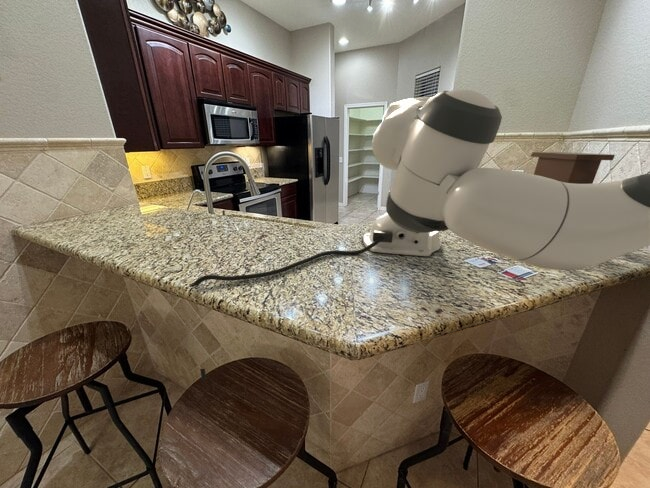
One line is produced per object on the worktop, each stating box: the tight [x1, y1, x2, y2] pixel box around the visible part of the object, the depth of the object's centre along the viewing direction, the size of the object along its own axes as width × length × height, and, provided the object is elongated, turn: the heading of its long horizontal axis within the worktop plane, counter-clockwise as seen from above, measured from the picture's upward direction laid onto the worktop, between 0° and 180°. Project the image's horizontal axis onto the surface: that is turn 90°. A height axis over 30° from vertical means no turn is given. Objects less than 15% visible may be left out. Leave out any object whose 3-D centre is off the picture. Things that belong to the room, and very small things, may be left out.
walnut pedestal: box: [530, 151, 616, 184], centre depth 80 cm, size 10×16×26 cm, turn 0°
